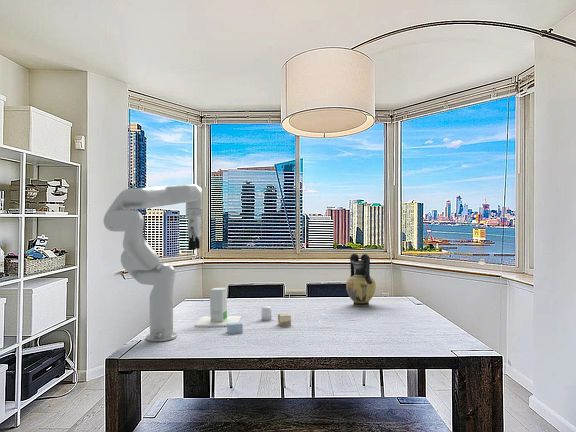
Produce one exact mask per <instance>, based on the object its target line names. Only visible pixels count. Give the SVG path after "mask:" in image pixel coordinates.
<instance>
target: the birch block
mask: <svg viewBox="0 0 576 432" xmlns="http://www.w3.org/2000/svg"><path fill="white" fill-rule="evenodd" d="M277 325H278V326H279V327H289V326H290V327H291V326H292V315H291V314H290V313H288V312H287V313H277Z"/></svg>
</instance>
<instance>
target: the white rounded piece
mask: <svg viewBox="0 0 576 432" xmlns="http://www.w3.org/2000/svg"><path fill="white" fill-rule="evenodd" d="M260 308H261V309H260V310H261V312H260V313H261V318H260V319H261V321H271V320H272V306H269V305H267V306H261V307H260Z"/></svg>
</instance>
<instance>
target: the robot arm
mask: <svg viewBox="0 0 576 432" xmlns="http://www.w3.org/2000/svg"><path fill="white" fill-rule="evenodd" d="M177 204H185V217H187V236H188V242H187V243H188V248H187V249H188V251H195V250H196V249H197V250H198V249H200V247H201V246H200V245H201V244H200V242H201V241H200V239H201V238H200V237H202V234H203V233H202V231H203V230H202V218H201V217H202V216H203V189H202V187H200V186H199V185H197V184H195V183H193V184H190V183H189V184H178V185H158V186H149V187H147V186H146V187H137V188H127V189H126V188H125V189H124V190H122V191H121V192H120V193H119V194H118V195H117V196H116V197H115V199H113V202H112V203H111V205H110V206H109V208H107V210H106V212H105V214H104V216H103V225H104V227H105V228H106V229H107V230H108V231H110V232H117V233H119V232H120V233H121V232H124V234H123V240H122V248H123V251H122V253H121V255H120V263H121V266H122V268H123V269H124V270H125V271H126V272H127V273H128V274H129V275H130V276H131V277H132V278H133V279H134V280H135V281H136V282H138V283H139V284H140V285H145V286H153V287H152V289H151V291H150V294H149V334H147V335H146V336H145V340H146V341H148V342H166V341H167V342H168V341H171V340H174V339H176V338H177V337H178V334H177V333H176V332H174V285H175V279H176V270H175V268H174V266H173V265H171V264H169V263H166V262H160V257H159V254H158V253H157V252H156V251H155V250H154V248H153V247H151V245H150V244H149V243H148V241H146V239H145V237H144V225H145V218H144V216H143V213H141V212H140V211H139V210H145V209H153V208H158V207H164V206H172V205H177Z"/></svg>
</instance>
